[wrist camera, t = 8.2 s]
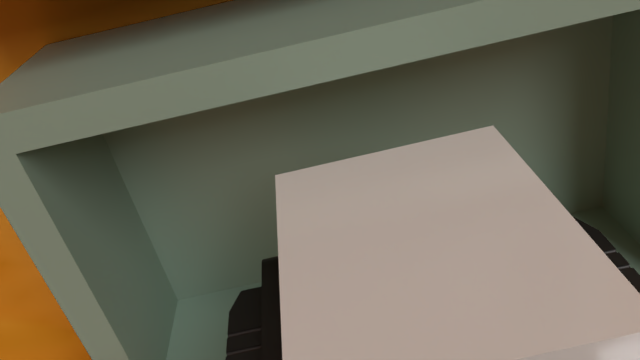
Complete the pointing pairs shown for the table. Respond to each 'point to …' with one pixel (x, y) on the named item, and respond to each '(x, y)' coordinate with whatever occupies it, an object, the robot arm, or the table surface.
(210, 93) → the sage green bin
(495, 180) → the pale pink block
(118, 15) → the table surface
